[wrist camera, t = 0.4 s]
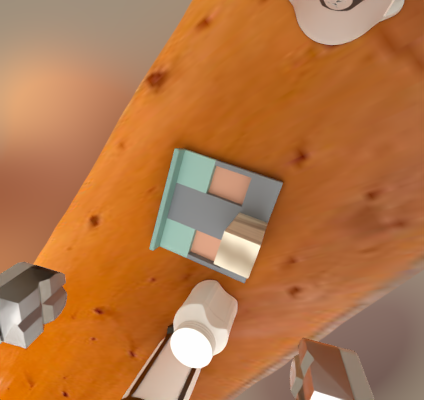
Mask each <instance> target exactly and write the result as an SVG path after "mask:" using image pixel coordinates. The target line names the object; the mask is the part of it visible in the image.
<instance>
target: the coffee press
mask: <svg viewBox="0 0 424 400" xmlns="http://www.w3.org/2000/svg"><path fill="white" fill-rule="evenodd" d="M173 333H174V327H173V325H170V326H168V330H167V336H166V337H165V338H164V339H163V340H162V341H161V342H160V343H159V344H158V346H157V347H156V349H155V350H154V352H153V353H152V355H151V356H150V358H149V359H148V361H147V362H146V363H145V365H144V366H143V368H142V369H141V371H140V372H139V374H138V375H137V377H136V378H135V380H134V381H133V383H132V384H131V386H130V387H129V389H128V390H127V391H126V393H125V394H124V396H123V397H122V399H121V400H189V398H190V396H191V393H192V391H193V388H194V386H195V383H196V381H197V378H198V376H199V373H200V371H201V368H191V367H188V366H186V365H184V364H182V363H181V362H180V361H179V360H178V359H177V358H176V357H175V355H174V354H173V352H172V349H171V345H170V340H171V337H172V335H173Z"/></svg>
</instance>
